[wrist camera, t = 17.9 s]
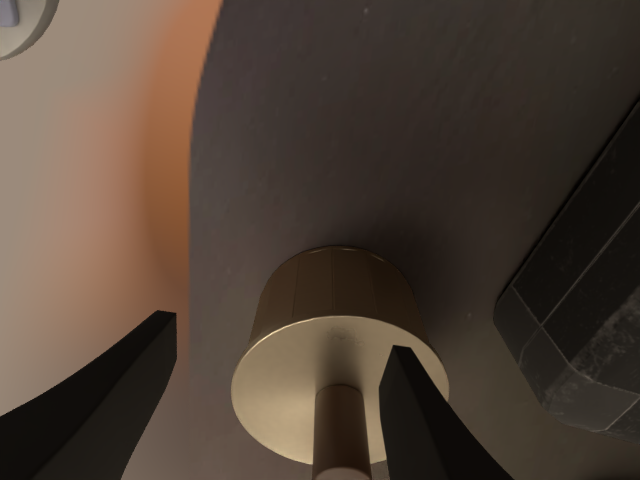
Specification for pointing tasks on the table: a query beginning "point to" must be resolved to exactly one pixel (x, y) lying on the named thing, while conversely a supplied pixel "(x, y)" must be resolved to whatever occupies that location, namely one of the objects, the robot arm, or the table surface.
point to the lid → (324, 388)
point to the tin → (336, 288)
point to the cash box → (585, 300)
